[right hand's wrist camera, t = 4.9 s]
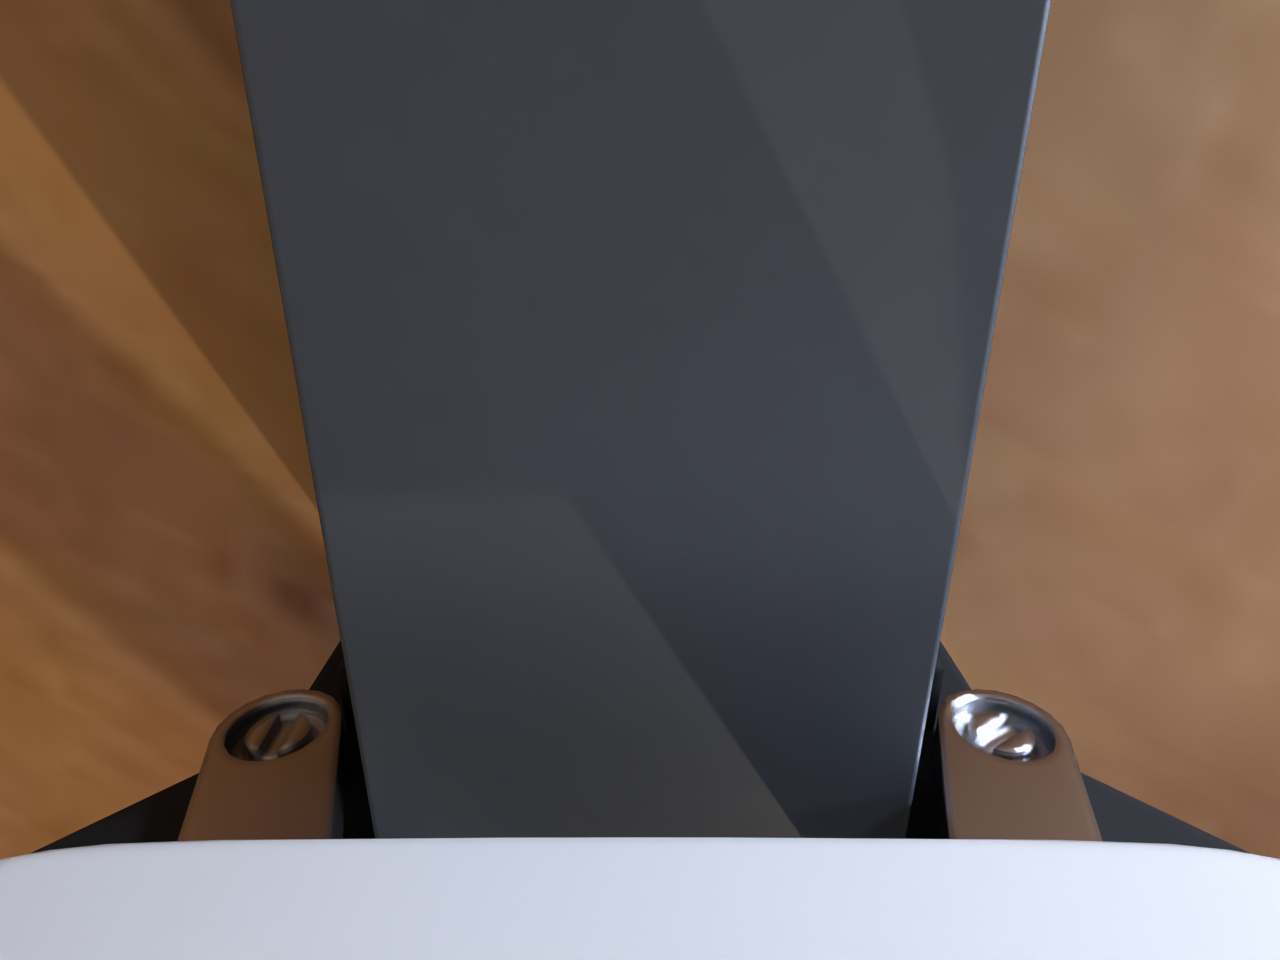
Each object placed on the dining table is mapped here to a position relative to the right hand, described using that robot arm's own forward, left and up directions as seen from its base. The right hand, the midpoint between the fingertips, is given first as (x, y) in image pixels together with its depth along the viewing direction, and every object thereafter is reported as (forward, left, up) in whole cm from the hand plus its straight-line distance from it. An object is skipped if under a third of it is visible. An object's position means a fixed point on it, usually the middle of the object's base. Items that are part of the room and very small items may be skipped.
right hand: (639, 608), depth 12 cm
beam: (-16, -28, -3) cm, 33 cm away
